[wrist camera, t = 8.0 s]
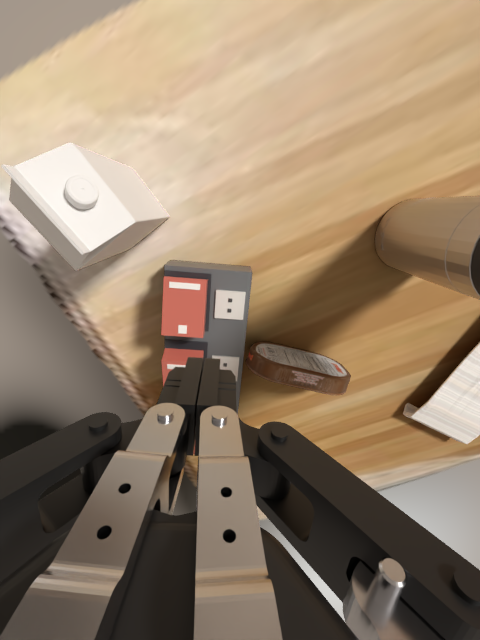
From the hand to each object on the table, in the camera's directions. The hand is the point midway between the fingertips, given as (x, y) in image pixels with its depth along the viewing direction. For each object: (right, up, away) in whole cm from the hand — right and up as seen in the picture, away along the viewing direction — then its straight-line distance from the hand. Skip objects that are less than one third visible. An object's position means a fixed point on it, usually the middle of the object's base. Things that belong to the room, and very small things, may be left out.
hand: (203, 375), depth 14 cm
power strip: (-4, -3, +32) cm, 32 cm away
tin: (+10, -3, +33) cm, 34 cm away
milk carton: (-12, +17, +24) cm, 32 cm away
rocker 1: (-5, +4, +23) cm, 24 cm away
